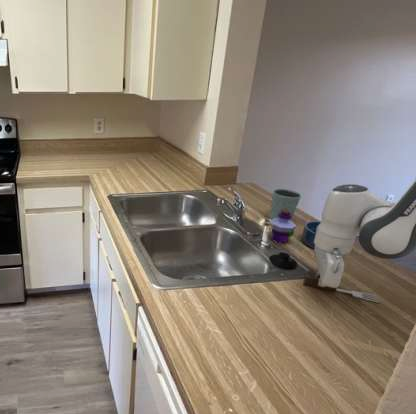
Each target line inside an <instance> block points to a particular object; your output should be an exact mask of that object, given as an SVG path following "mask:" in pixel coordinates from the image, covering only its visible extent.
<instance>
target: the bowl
mask: <svg viewBox="0 0 416 414" xmlns="http://www.w3.org/2000/svg"><path fill="white" fill-rule="evenodd" d="M320 223H321V221H317V220H313V221H307V222H305V224H304V226H303V230H302V233H301V237H300V239H301V241H302V242H303V243H304V244H305V245H306V246H307V247H310V248H312V249H315V244H314V239H315V235H316V228H317V226H319V224H320Z"/></svg>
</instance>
